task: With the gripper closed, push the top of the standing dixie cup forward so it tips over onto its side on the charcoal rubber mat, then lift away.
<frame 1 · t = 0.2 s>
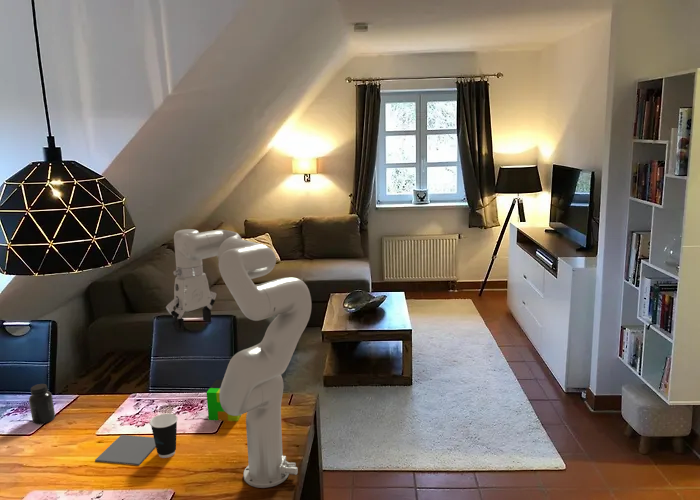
hand: (194, 325, 176), 36 cm above the table, tool pointing down, fingers open, 9 cm apart
dixie cup: (166, 454, 174), on the table
puzzle toy: (227, 413, 198), on the table
supplement bottle: (43, 420, 195), on the table
charcoal mat: (130, 450, 176), on the table
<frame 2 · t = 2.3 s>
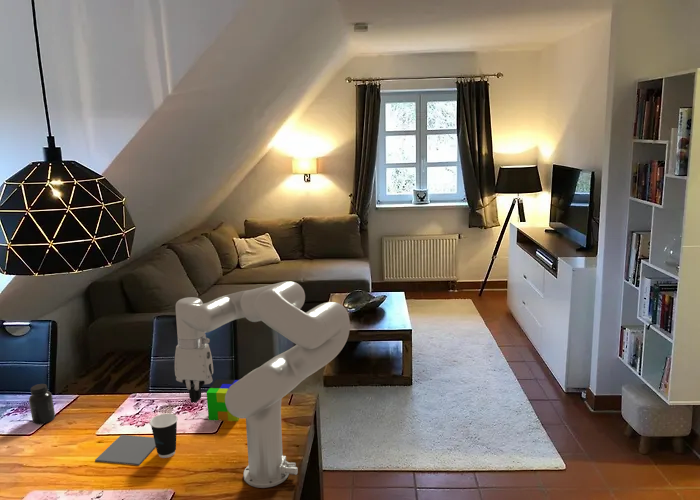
hand: (195, 400, 169), 18 cm above the table, tool pointing down, fingers closed
nothing on the table moved.
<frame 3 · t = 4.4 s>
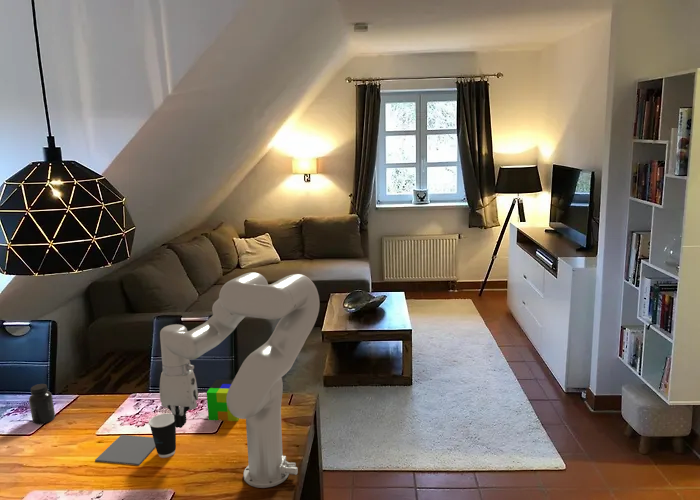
hand: (180, 425, 171), 10 cm above the table, tool pointing down, fingers closed
dixie cup: (167, 453, 174), on the table, touching gripper
everything else where it was.
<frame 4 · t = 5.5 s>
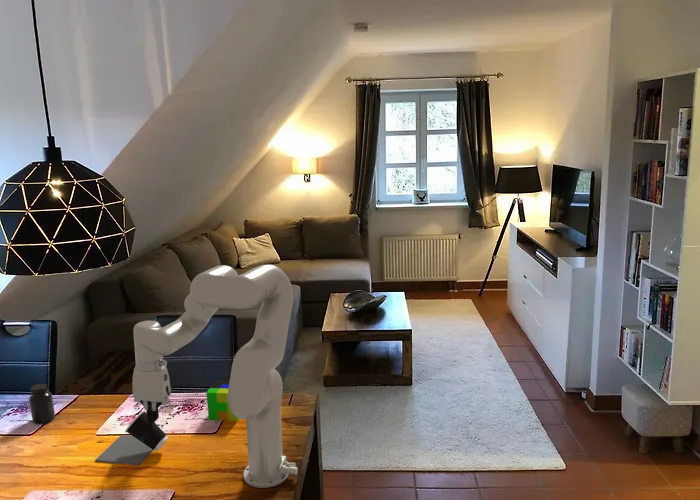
hand: (153, 420, 173), 10 cm above the table, tool pointing down, fingers closed
dixie cup: (163, 445, 174), point 3 cm above the table, touching gripper
everything else where it was.
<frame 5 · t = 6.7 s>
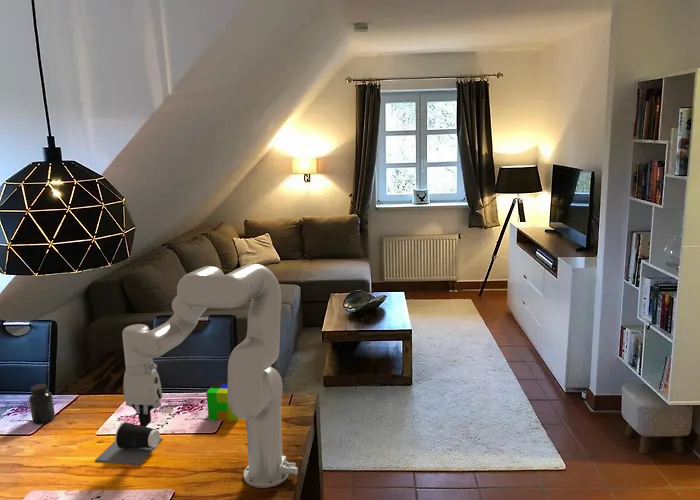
hand: (145, 424, 173), 9 cm above the table, tool pointing down, fingers closed
dixie cup: (156, 438, 174), point 4 cm above the table, touching charcoal mat
everything else where it was.
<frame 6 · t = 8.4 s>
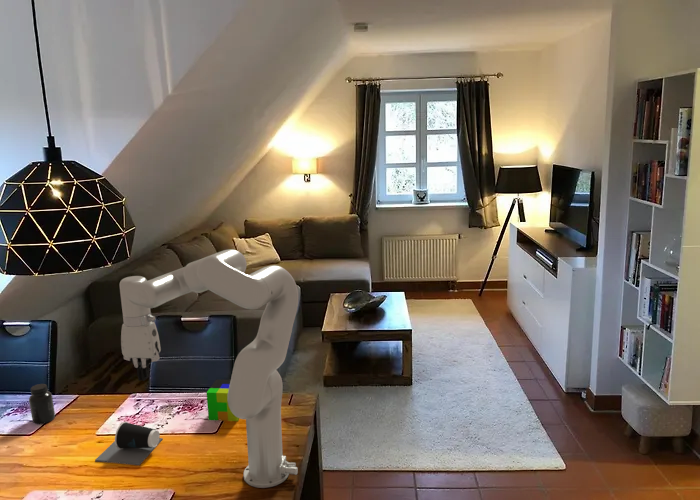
hand: (143, 378, 171), 23 cm above the table, tool pointing down, fingers closed
nothing on the table moved.
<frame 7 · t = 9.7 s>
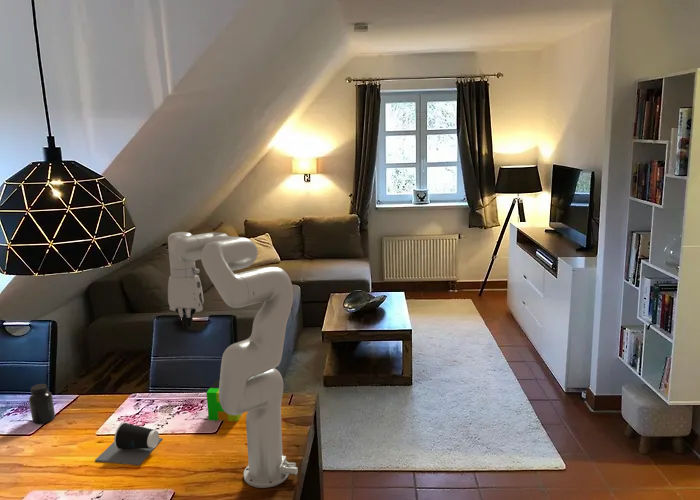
hand: (187, 328, 184), 33 cm above the table, tool pointing down, fingers closed
nothing on the table moved.
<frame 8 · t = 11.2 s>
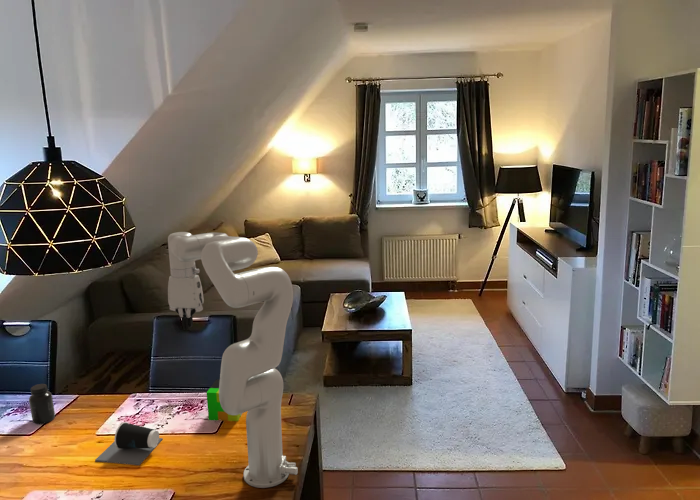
hand: (187, 328, 184), 33 cm above the table, tool pointing down, fingers closed
nothing on the table moved.
at the end: dixie cup tilted 90°; dixie cup touching charcoal mat; the gripper is holding nothing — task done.
